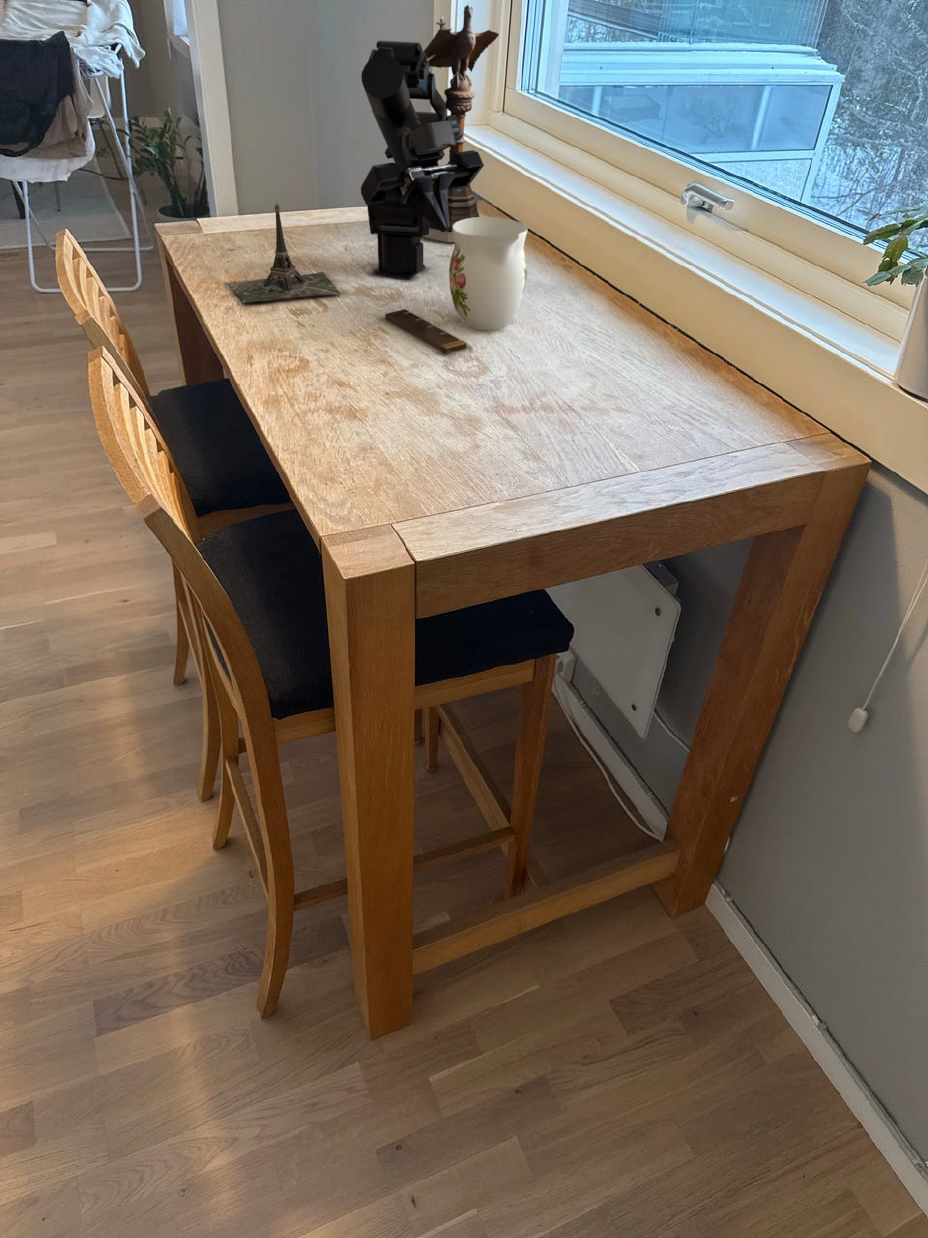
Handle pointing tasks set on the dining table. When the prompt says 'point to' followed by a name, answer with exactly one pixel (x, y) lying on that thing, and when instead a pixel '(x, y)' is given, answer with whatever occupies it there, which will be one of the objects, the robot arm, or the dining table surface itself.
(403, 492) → the dining table surface
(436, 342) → the ruler
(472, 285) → the pitcher
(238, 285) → the eiffel tower figurine
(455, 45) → the bird statue
